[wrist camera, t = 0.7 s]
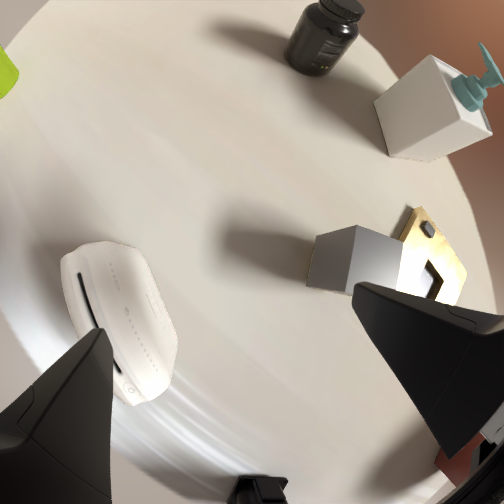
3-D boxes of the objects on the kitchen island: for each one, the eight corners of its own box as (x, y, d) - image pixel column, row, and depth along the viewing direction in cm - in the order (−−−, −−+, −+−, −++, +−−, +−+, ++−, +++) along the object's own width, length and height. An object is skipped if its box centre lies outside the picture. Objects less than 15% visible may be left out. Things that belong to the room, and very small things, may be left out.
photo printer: (185, 345, 24) (177, 408, 12) (145, 359, 23) (111, 426, 11) (143, 243, 24) (97, 220, 12) (104, 260, 23) (35, 252, 11)
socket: (420, 355, 30) (431, 358, 27) (364, 298, 28) (375, 299, 26) (460, 273, 32) (470, 273, 30) (414, 208, 30) (424, 205, 28)
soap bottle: (412, 111, 32) (497, 56, 13) (428, 163, 32) (529, 120, 13) (371, 101, 30) (461, 25, 12) (388, 157, 30) (503, 95, 11)
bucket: (498, 391, 36) (570, 411, 11) (458, 468, 33) (519, 500, 8) (458, 394, 32) (562, 429, 7) (403, 489, 29) (478, 546, 4)
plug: (339, 294, 27) (394, 302, 19) (298, 285, 27) (344, 292, 18) (347, 249, 28) (403, 242, 19) (308, 238, 27) (356, 224, 18)
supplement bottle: (336, 61, 30) (377, 8, 18) (321, 86, 29) (368, 27, 17) (294, 38, 29) (325, -21, 17) (275, 60, 28) (306, -7, 16)
